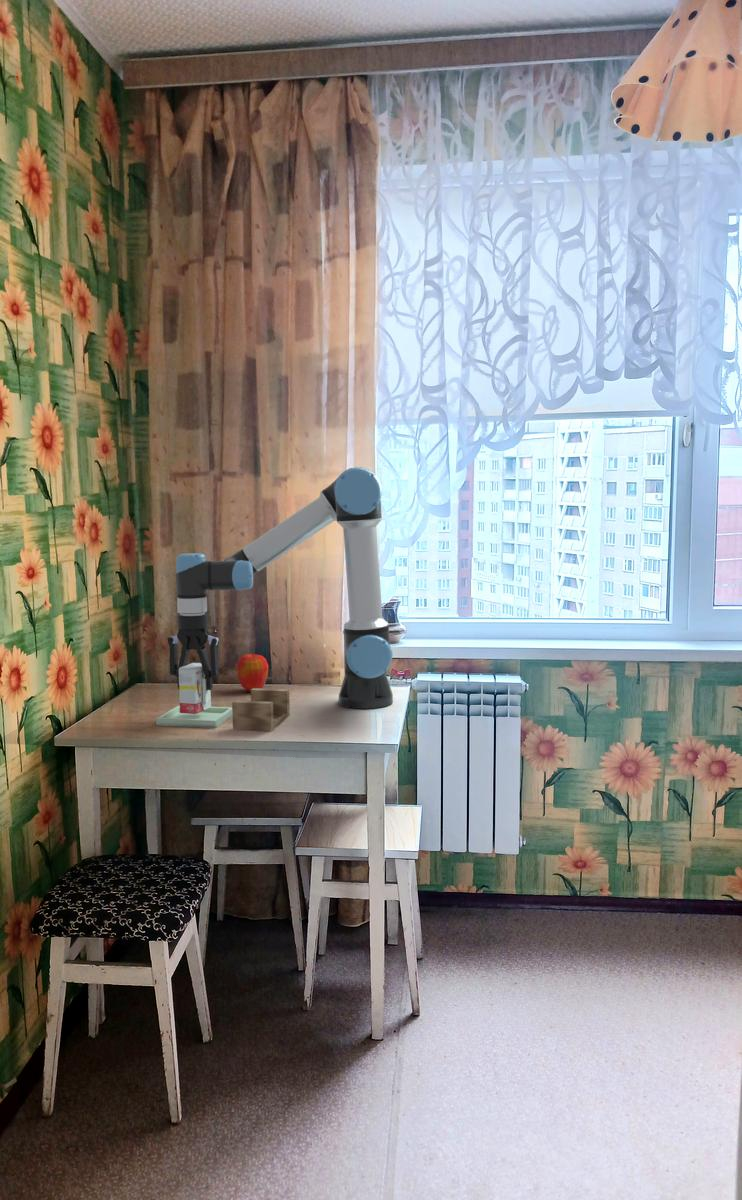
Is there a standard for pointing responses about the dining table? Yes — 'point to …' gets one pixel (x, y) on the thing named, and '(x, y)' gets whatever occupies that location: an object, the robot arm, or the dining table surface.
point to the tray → (195, 717)
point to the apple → (252, 671)
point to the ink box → (192, 689)
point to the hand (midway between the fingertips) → (195, 701)
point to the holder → (261, 710)
